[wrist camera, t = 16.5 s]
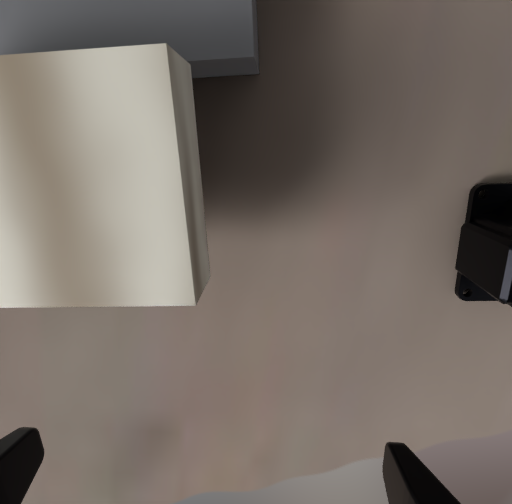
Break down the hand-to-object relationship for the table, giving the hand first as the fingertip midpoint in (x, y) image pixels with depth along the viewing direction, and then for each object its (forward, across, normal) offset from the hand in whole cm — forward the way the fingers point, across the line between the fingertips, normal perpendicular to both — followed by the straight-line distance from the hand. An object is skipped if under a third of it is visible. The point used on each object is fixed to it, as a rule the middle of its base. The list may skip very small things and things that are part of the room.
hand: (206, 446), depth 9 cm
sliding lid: (+8, +6, -6) cm, 12 cm away
